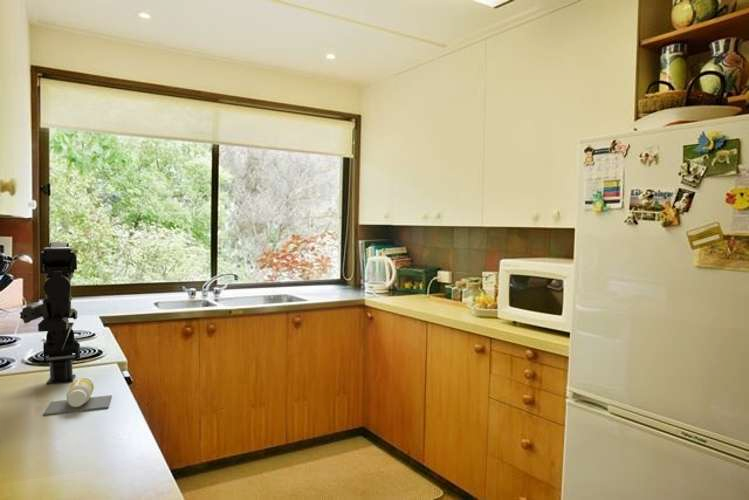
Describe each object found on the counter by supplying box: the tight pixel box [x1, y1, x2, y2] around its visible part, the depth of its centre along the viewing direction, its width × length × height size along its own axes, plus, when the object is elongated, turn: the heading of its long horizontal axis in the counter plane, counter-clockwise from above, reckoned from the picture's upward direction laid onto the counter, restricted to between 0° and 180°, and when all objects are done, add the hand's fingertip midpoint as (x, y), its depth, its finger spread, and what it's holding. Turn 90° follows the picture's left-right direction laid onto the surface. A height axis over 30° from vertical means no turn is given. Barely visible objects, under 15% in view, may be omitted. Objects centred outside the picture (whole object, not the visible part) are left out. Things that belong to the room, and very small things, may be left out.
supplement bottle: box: [66, 377, 95, 407], centre depth 129 cm, size 5×5×10 cm
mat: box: [42, 394, 113, 417], centre depth 129 cm, size 9×14×1 cm, turn 113°
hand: (59, 351), depth 136 cm, fingers closed
